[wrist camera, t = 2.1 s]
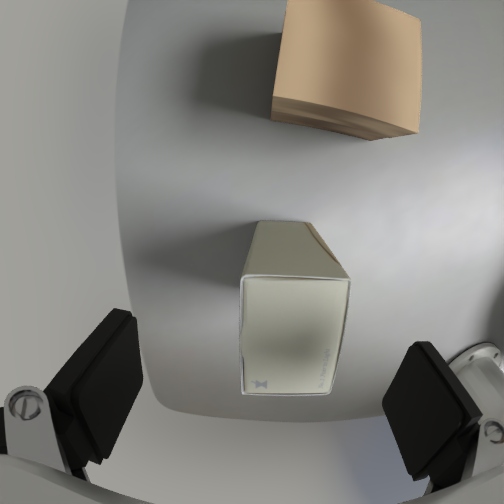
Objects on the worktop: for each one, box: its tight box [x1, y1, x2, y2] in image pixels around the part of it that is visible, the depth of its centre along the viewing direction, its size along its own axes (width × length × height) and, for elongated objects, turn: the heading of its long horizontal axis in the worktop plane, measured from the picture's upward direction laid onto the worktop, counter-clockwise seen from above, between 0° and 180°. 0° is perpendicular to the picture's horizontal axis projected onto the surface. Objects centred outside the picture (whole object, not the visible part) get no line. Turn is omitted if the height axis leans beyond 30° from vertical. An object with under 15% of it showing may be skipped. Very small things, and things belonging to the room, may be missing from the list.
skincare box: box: [239, 221, 351, 396], centre depth 17 cm, size 6×4×12 cm
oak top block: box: [271, 0, 422, 138], centre depth 13 cm, size 8×8×4 cm
